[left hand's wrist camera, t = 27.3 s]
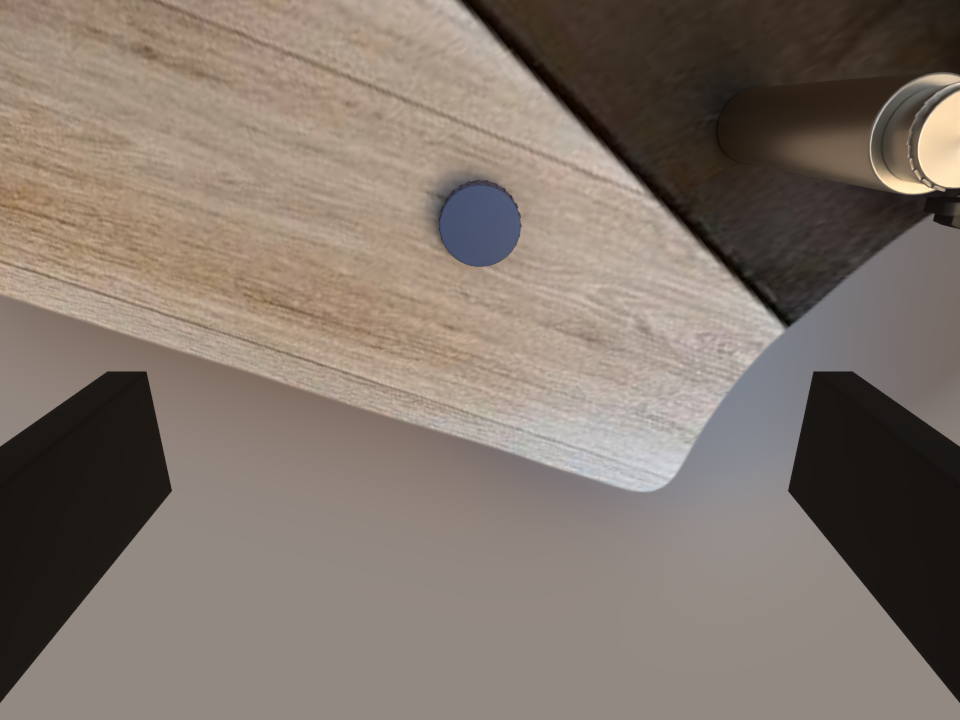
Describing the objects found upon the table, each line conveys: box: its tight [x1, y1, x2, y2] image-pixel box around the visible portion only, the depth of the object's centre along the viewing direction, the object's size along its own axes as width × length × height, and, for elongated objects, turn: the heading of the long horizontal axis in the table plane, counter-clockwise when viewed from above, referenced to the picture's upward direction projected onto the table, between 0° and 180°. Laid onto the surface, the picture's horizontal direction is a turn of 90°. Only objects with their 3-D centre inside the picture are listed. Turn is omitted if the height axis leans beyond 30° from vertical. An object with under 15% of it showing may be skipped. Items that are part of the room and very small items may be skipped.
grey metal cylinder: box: [717, 72, 960, 195], centre depth 29 cm, size 4×4×18 cm
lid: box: [439, 180, 521, 267], centre depth 38 cm, size 5×5×2 cm
